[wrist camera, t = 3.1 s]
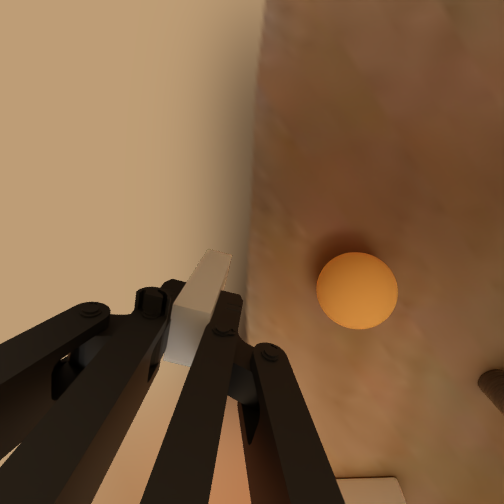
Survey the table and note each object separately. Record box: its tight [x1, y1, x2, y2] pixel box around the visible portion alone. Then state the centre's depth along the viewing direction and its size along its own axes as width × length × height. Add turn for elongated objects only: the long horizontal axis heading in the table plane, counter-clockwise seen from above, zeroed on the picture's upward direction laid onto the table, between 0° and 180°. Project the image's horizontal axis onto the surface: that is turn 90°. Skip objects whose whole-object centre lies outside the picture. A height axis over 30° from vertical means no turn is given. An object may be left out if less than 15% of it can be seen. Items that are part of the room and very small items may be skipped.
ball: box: [317, 252, 398, 329], centre depth 21 cm, size 6×6×6 cm
